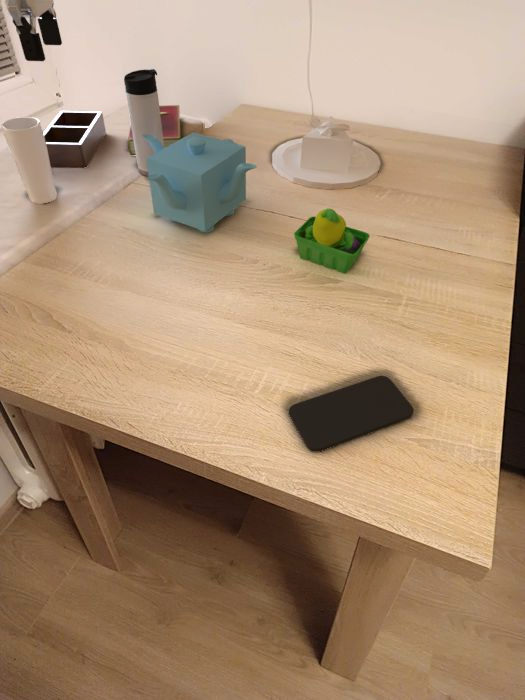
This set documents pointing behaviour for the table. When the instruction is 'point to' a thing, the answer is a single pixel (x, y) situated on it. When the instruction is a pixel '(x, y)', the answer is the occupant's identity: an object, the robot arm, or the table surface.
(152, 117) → the travel mug
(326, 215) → the fruit basket
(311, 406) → the phone
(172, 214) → the teakettle
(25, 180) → the drinking glass
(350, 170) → the dish
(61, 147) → the cup holder
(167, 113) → the hardcover book
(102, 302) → the table surface
